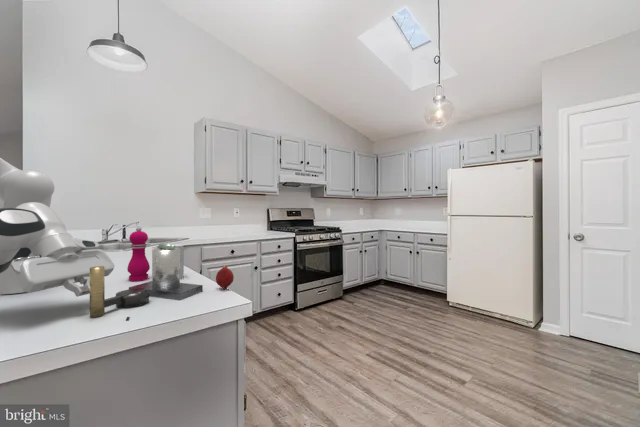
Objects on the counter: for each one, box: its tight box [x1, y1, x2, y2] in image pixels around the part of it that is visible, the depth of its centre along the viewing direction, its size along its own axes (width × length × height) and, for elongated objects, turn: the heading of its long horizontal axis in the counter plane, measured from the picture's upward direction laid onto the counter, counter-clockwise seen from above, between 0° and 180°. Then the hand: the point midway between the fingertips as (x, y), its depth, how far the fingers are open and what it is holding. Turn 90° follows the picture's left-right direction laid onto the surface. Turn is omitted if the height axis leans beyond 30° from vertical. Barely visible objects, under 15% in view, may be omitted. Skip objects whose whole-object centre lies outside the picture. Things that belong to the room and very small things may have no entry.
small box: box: [156, 243, 185, 280], centre depth 114 cm, size 8×6×13 cm
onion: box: [215, 264, 235, 289], centre depth 101 cm, size 6×6×8 cm
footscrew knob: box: [89, 266, 150, 318], centre depth 80 cm, size 8×16×12 cm, turn 163°
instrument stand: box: [125, 243, 204, 321], centre depth 87 cm, size 20×27×16 cm
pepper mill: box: [126, 226, 151, 283], centre depth 112 cm, size 7×7×20 cm
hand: (85, 293), depth 75 cm, fingers closed
